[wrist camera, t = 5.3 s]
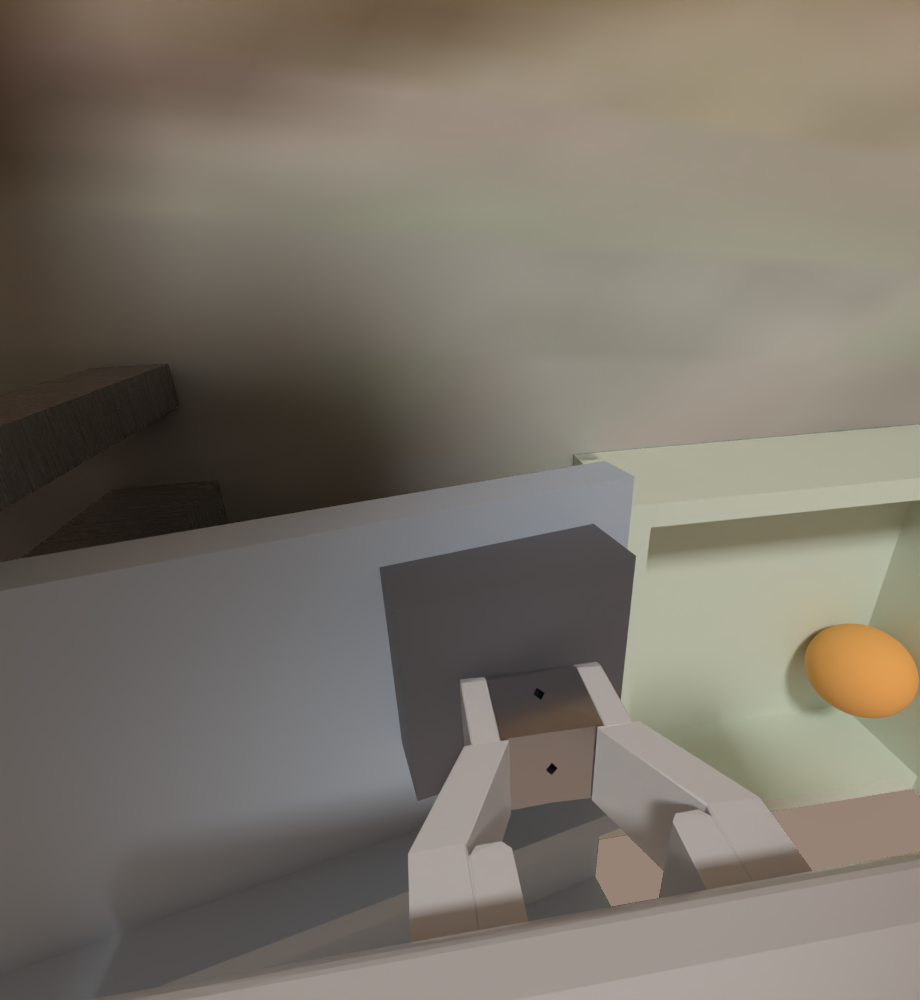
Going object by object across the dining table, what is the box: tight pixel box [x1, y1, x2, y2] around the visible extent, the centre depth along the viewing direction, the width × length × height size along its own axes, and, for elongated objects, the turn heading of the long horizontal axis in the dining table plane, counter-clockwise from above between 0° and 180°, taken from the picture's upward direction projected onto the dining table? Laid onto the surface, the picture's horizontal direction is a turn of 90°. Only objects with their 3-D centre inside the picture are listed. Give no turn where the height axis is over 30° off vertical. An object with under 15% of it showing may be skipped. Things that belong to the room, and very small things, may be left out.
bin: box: [573, 424, 920, 840], centre depth 21 cm, size 16×16×7 cm
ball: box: [805, 624, 919, 718], centre depth 23 cm, size 4×4×4 cm
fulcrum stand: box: [0, 364, 228, 559], centre depth 16 cm, size 20×4×11 cm, turn 3°
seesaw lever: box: [0, 461, 636, 1000], centre depth 11 cm, size 16×28×4 cm, turn 93°
